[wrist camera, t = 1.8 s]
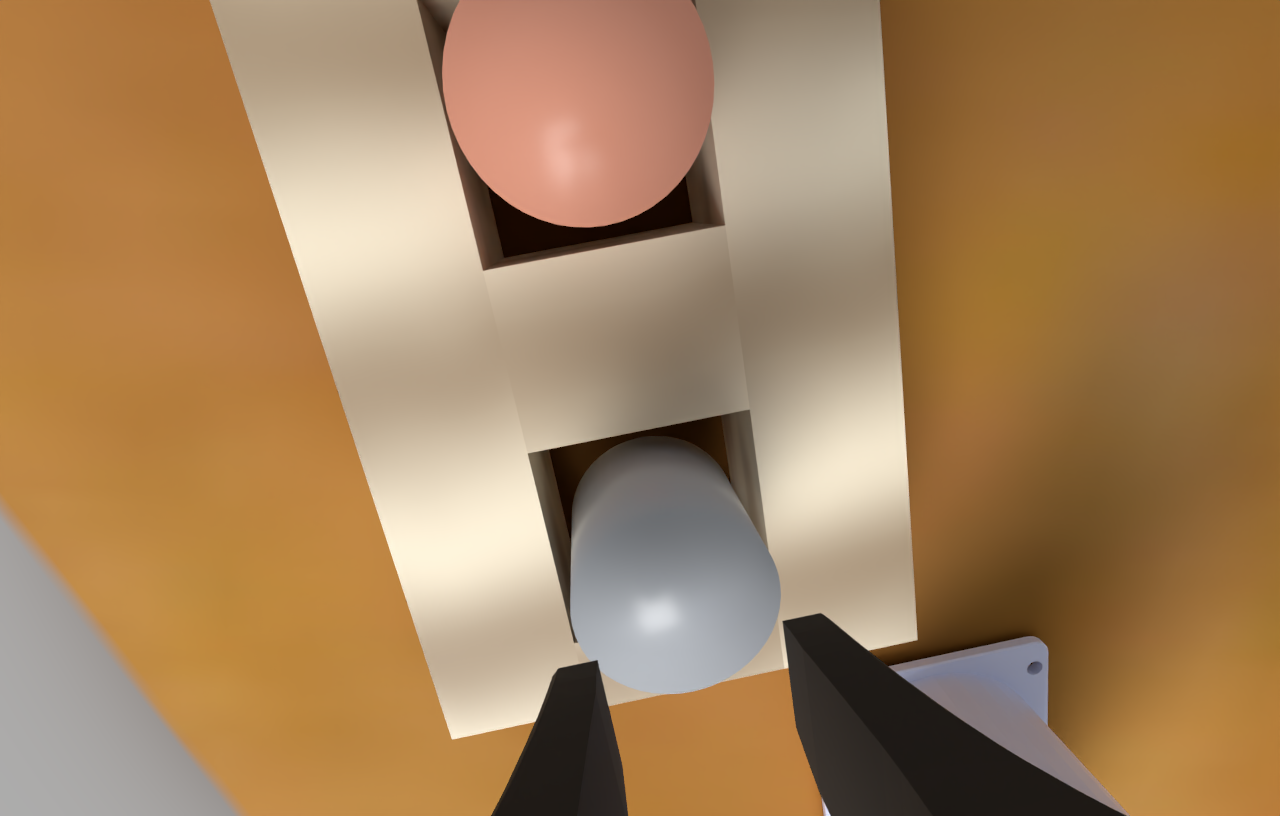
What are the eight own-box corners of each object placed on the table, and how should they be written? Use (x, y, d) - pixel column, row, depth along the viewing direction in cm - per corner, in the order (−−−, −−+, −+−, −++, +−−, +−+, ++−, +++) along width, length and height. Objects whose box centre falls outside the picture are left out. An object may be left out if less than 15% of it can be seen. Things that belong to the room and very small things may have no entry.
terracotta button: (689, 204, 14) (731, 202, 10) (506, 239, 14) (480, 248, 10) (658, -3, 13) (692, -94, 9) (458, 31, 13) (408, -45, 9)
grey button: (742, 566, 17) (791, 670, 13) (589, 598, 17) (593, 712, 13) (721, 421, 16) (768, 488, 12) (556, 453, 16) (549, 532, 12)
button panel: (854, 560, 21) (917, 639, 17) (475, 639, 20) (451, 739, 16) (793, -114, 15) (866, -222, 11) (277, -26, 15) (174, -108, 11)
